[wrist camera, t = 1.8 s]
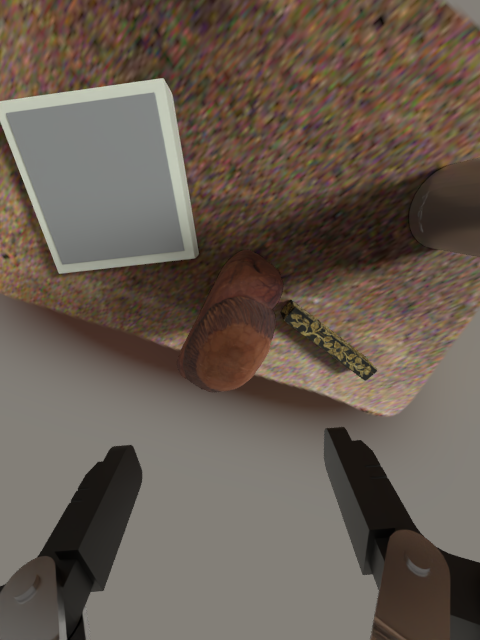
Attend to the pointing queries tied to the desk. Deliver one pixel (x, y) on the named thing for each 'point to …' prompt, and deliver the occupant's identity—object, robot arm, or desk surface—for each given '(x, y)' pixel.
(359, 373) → the decorative block
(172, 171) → the plinth
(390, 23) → the desk surface
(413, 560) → the robot arm
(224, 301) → the wooden figurine
